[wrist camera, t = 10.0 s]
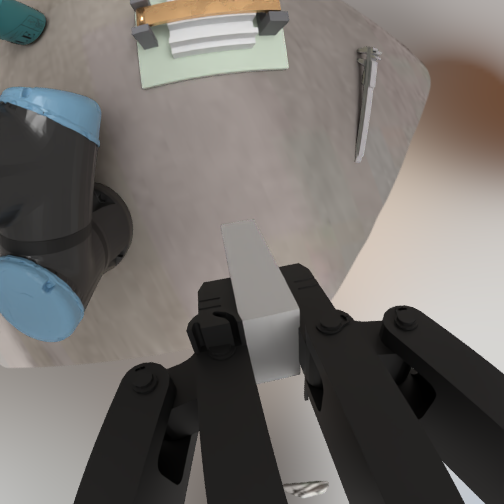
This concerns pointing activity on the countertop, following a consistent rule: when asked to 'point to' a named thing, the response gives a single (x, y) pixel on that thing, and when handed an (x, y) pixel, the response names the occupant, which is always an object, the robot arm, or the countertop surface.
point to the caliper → (366, 96)
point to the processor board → (208, 62)
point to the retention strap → (200, 9)
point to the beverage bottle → (20, 22)
